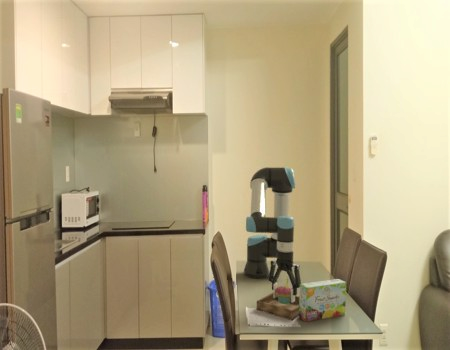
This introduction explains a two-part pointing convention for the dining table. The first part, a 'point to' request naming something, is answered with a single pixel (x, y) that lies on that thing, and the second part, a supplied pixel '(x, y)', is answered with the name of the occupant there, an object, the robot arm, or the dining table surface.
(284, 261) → the robot arm
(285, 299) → the cupcake
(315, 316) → the snack box
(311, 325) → the dining table surface
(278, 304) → the walnut tray
